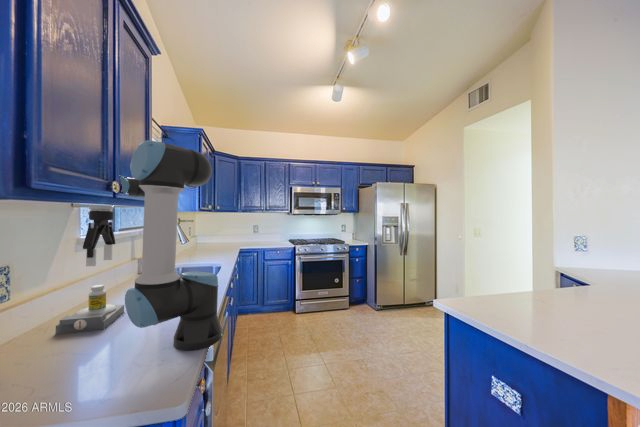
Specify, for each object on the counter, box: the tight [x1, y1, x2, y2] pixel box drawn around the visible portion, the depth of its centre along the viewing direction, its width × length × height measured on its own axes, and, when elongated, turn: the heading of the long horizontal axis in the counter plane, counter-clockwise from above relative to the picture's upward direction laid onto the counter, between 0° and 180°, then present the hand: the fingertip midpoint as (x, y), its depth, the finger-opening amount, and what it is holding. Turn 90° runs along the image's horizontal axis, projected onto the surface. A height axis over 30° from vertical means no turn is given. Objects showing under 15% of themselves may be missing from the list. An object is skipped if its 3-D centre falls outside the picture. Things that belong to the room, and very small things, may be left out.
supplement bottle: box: [88, 284, 107, 312], centre depth 103 cm, size 5×5×10 cm
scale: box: [55, 304, 125, 335], centre depth 100 cm, size 18×14×5 cm
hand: (99, 262), depth 103 cm, fingers open, 13 cm apart
